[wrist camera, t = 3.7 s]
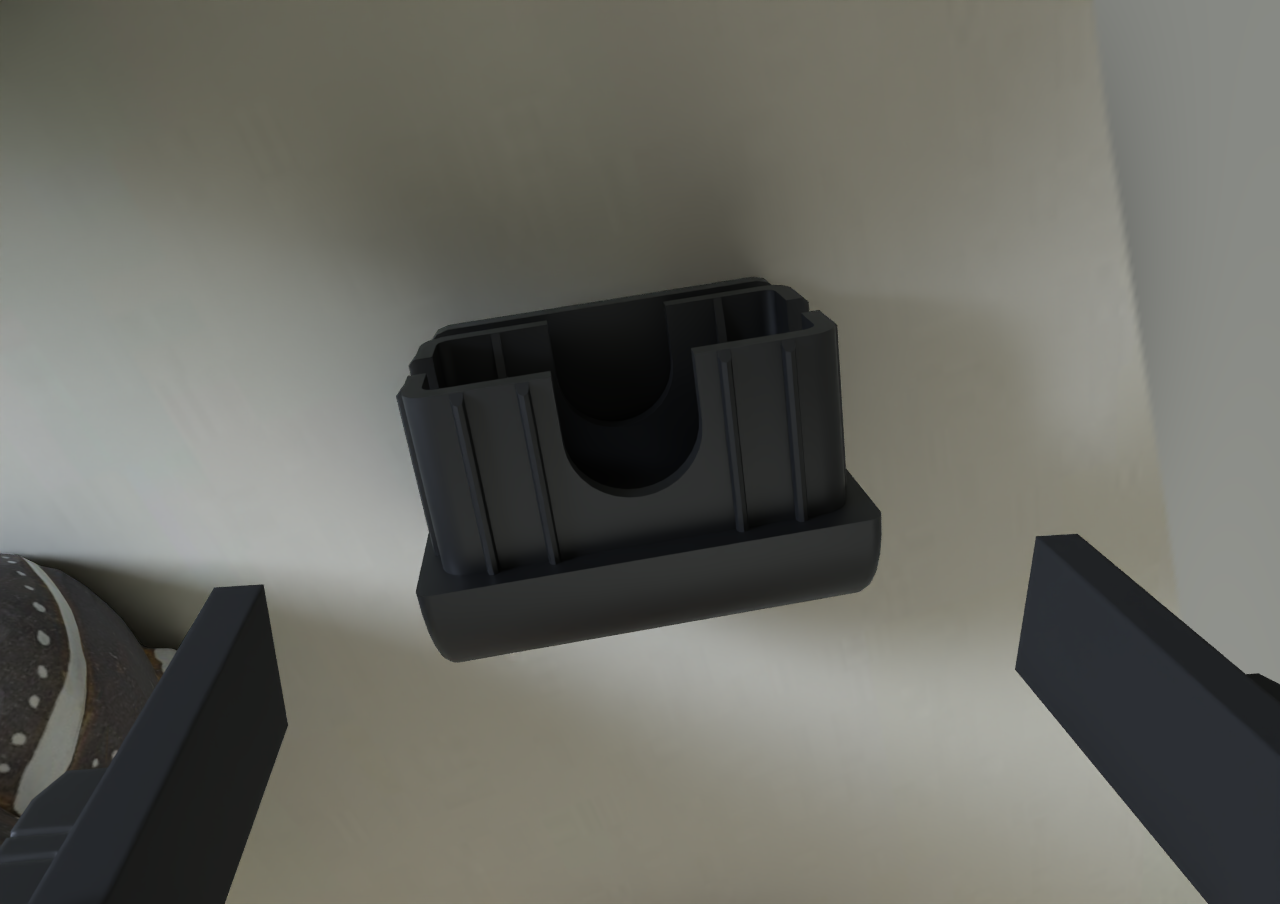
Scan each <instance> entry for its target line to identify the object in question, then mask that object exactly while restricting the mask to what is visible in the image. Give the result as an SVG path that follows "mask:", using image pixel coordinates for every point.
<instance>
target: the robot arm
mask: <svg viewBox="0 0 1280 904" xmlns="http://www.w3.org/2000/svg"><path fill="white" fill-rule="evenodd" d="M1015 670H1016V671H1017V672H1018V673H1019V675H1020V676H1021V677H1022V678H1023V680H1024V681H1025V682H1026V683H1027V684H1028V686H1029V687H1030V688H1031V689H1032V690H1033V692H1034V693H1035V694H1036V695H1037V697H1038V698H1039V699H1040V700H1041V701H1042V703H1043V704H1044V705H1045V706H1046V707H1047V709H1048V710H1049V711H1050V712H1051V714H1052V715H1053V716H1054V717H1055V718H1056V720H1057V721H1058V722H1059V723H1060V724H1061V726H1062V727H1063V728H1064V729H1065V731H1066V732H1067V733H1068V734H1069V735H1070V737H1071V738H1072V739H1073V740H1074V741H1075V743H1076V744H1077V745H1078V746H1079V748H1080V749H1081V750H1082V751H1083V752H1084V754H1085V755H1086V756H1087V757H1088V758H1089V760H1090V761H1091V762H1092V763H1093V765H1094V766H1095V767H1096V768H1097V769H1098V771H1099V772H1100V773H1101V774H1102V775H1103V777H1104V778H1105V779H1106V780H1107V782H1108V783H1109V784H1110V785H1111V786H1112V788H1113V789H1114V790H1115V791H1116V792H1117V794H1118V795H1119V796H1120V797H1121V799H1122V800H1123V801H1124V802H1125V803H1126V805H1127V806H1128V807H1129V808H1130V809H1131V811H1132V812H1133V813H1134V814H1135V816H1136V817H1137V818H1138V819H1139V820H1140V822H1141V823H1142V824H1143V825H1144V826H1145V828H1146V829H1147V830H1148V831H1149V833H1150V834H1151V835H1152V836H1153V837H1154V839H1155V840H1156V841H1157V842H1158V843H1159V845H1160V846H1161V847H1162V848H1163V850H1164V851H1165V852H1166V853H1167V854H1168V856H1169V857H1170V858H1171V859H1172V860H1173V862H1174V863H1175V864H1176V865H1177V867H1178V868H1179V869H1180V870H1181V871H1182V873H1183V874H1184V875H1185V876H1186V877H1187V879H1188V880H1189V881H1190V882H1191V884H1192V885H1193V886H1194V887H1195V888H1196V890H1197V891H1198V892H1199V893H1200V894H1201V896H1202V897H1203V898H1204V899H1205V901H1206V902H1207V903H1208V904H1280V684H1278V683H1276V682H1274V681H1272V680H1270V679H1268V678H1266V677H1264V676H1262V675H1260V674H1245V673H1243V672H1242V671H1241V670H1240V669H1239V668H1238V667H1236V666H1235V665H1234V664H1233V663H1232V662H1230V661H1229V660H1228V659H1227V658H1226V657H1224V656H1223V655H1222V654H1221V653H1220V652H1218V651H1217V650H1216V649H1215V648H1214V647H1212V646H1211V645H1210V644H1209V643H1208V642H1207V641H1205V640H1204V639H1203V638H1202V637H1201V636H1199V635H1198V634H1197V633H1196V632H1194V631H1193V630H1192V629H1191V628H1190V627H1189V626H1187V625H1186V624H1185V623H1184V622H1183V621H1181V620H1180V619H1179V618H1178V617H1177V616H1175V615H1174V614H1173V613H1172V612H1171V611H1169V610H1168V609H1167V608H1166V607H1165V606H1163V605H1162V604H1161V603H1160V602H1159V601H1157V600H1156V599H1155V598H1154V597H1153V596H1151V595H1150V594H1149V593H1148V592H1147V591H1145V590H1144V589H1143V588H1142V587H1141V586H1139V585H1138V584H1137V583H1136V582H1135V581H1133V580H1132V579H1131V578H1130V577H1129V576H1127V575H1126V574H1125V573H1124V572H1123V571H1121V570H1120V569H1119V568H1118V567H1117V566H1115V565H1114V564H1113V563H1112V562H1111V561H1109V560H1108V559H1107V558H1106V557H1105V556H1103V555H1102V554H1101V553H1100V552H1099V551H1097V550H1096V549H1095V548H1094V547H1093V546H1091V545H1090V544H1089V543H1088V542H1087V541H1085V540H1084V539H1083V538H1082V537H1081V536H1079V535H1078V534H1067V535H1051V536H1036V541H1035V547H1034V553H1033V560H1032V566H1031V572H1030V579H1029V585H1028V591H1027V598H1026V604H1025V610H1024V616H1023V623H1022V629H1021V635H1020V642H1019V648H1018V654H1017V661H1016V667H1015ZM287 727H288V723H287V717H286V711H285V705H284V699H283V694H282V688H281V682H280V676H279V671H278V665H277V659H276V653H275V648H274V642H273V636H272V630H271V625H270V619H269V613H268V607H267V602H266V596H265V590H264V585H248V586H232V587H216V588H214V589H213V591H212V592H211V594H210V596H209V597H208V599H207V601H206V602H205V604H204V606H203V608H202V609H201V611H200V613H199V614H198V616H197V618H196V619H195V621H194V623H193V624H192V626H191V628H190V630H189V631H188V633H187V635H186V636H185V638H184V640H183V641H182V643H181V645H180V646H179V648H178V650H177V651H176V653H175V655H174V657H173V658H172V660H171V662H170V663H169V665H168V667H167V668H166V670H165V672H164V673H163V675H162V677H161V679H160V680H159V682H158V684H157V685H156V687H155V689H154V690H153V692H152V694H151V695H150V697H149V699H148V700H147V702H146V704H145V706H144V707H143V709H142V711H141V712H140V714H139V716H138V717H137V719H136V721H135V722H134V724H133V726H132V728H131V729H130V731H129V733H128V734H127V736H126V738H125V739H124V741H123V743H122V744H121V746H120V748H119V749H118V751H117V753H116V755H115V756H114V758H113V760H112V761H111V763H110V765H109V766H108V767H107V768H95V769H82V770H70V771H66V772H65V773H64V774H62V775H61V776H60V777H59V778H57V779H56V780H55V781H54V782H53V783H51V784H50V785H49V786H48V787H47V788H45V789H44V790H43V791H42V792H40V793H39V794H38V795H37V796H36V797H34V798H33V799H32V800H31V802H30V803H29V805H28V806H27V808H26V809H25V811H24V812H23V814H22V815H21V816H20V818H19V819H18V821H17V822H16V824H15V825H14V827H13V828H12V830H11V831H10V832H11V835H10V838H6V839H5V840H4V842H3V843H2V845H1V846H0V904H225V901H226V898H227V896H228V893H229V890H230V887H231V884H232V881H233V879H234V876H235V873H236V870H237V867H238V865H239V862H240V859H241V856H242V853H243V851H244V848H245V845H246V842H247V839H248V836H249V834H250V831H251V828H252V825H253V822H254V820H255V817H256V814H257V811H258V808H259V805H260V803H261V800H262V797H263V794H264V791H265V789H266V786H267V783H268V780H269V777H270V774H271V772H272V769H273V766H274V763H275V760H276V758H277V755H278V752H279V749H280V746H281V744H282V741H283V738H284V735H285V732H286V729H287Z"/></svg>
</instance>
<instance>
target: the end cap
mask: <svg viewBox="0 0 1280 904" xmlns="http://www.w3.org/2000/svg"><path fill="white" fill-rule="evenodd" d="M409 369H410V373H411V376H408V377H407V379H406V381H405V384H404V385H403V387H402V388H401V390H400V391H399V393H398V394H397V396H396V398H397V402H398V406H399V410H400V414H401V418H402V423H403V427H404V431H405V435H406V439H407V443H408V447H409V451H410V455H411V460H412V464H413V468H414V472H415V476H416V480H417V484H418V488H419V493H420V497H421V501H422V505H423V509H424V513H425V517H426V521H427V525H428V530H429V534H428V539H427V543H426V548H425V553H424V557H423V562H422V566H421V571H420V575H419V580H418V584H417V589H416V594H417V598H418V601H419V605H420V608H421V612H422V615H423V618H424V621H425V624H426V626H427V629H428V632H429V634H430V636H431V638H432V640H433V643H434V645H435V646H436V648H437V649H438V651H439V652H440V653H441V655H442V656H443V657H444V658H446V659H448V660H450V661H452V662H464V661H470V660H476V659H481V658H487V657H493V656H498V655H504V654H510V653H515V652H521V651H527V650H532V649H538V648H544V647H549V646H555V645H561V644H566V643H572V642H578V641H584V640H589V639H595V638H601V637H606V636H612V635H618V634H623V633H629V632H635V631H640V630H646V629H652V628H657V627H663V626H669V625H674V624H680V623H686V622H692V621H697V620H703V619H709V618H714V617H720V616H726V615H731V614H737V613H743V612H748V611H754V610H760V609H765V608H771V607H777V606H782V605H788V604H794V603H800V602H805V601H811V600H817V599H822V598H828V597H834V596H839V595H845V594H851V593H856V592H860V591H862V590H863V589H864V588H865V587H867V586H868V585H869V584H870V583H871V581H872V579H873V577H874V575H875V573H876V570H877V566H878V561H879V556H880V548H881V535H882V533H881V511H880V510H879V509H878V508H877V506H876V505H875V504H874V503H873V501H872V500H871V499H870V498H869V496H868V495H867V494H866V493H865V492H864V490H863V489H862V488H861V487H860V485H859V484H858V483H857V482H856V480H855V479H854V478H853V477H852V475H851V474H850V473H849V472H848V470H847V469H846V463H845V446H844V430H843V413H842V397H841V380H840V363H839V347H838V330H837V325H836V324H835V323H834V322H833V321H832V320H831V319H829V318H828V317H827V316H826V315H824V314H823V313H822V312H821V311H820V310H816V311H810V312H809V302H808V301H807V300H805V299H804V298H803V297H802V296H801V295H800V294H798V293H797V292H796V291H795V290H793V289H792V288H791V287H788V286H783V285H771V284H770V283H768V282H767V281H766V280H765V279H764V278H757V277H749V278H743V279H737V280H730V281H724V282H718V283H711V284H705V285H699V286H692V287H686V288H680V289H673V290H667V291H661V292H654V293H648V294H642V295H636V296H629V297H623V298H617V299H610V300H604V301H598V302H591V303H585V304H579V305H572V306H566V307H560V308H554V309H547V310H541V311H535V312H528V313H522V314H516V315H509V316H503V317H497V318H490V319H484V320H478V321H471V322H465V323H459V324H453V325H448V326H446V327H444V328H441V329H439V330H438V331H437V333H436V334H435V336H434V337H433V339H432V340H430V341H428V342H425V343H424V344H422V345H421V346H420V347H419V349H418V352H417V354H416V356H415V357H414V359H413V360H412V362H411V363H410V365H409Z"/></svg>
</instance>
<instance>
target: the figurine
mask: <svg viewBox="0 0 1280 904" xmlns="http://www.w3.org/2000/svg"><path fill="white" fill-rule="evenodd" d="M176 651H177V650H174V649H171V648H148V647H145V646H142V645H140V643H139V642H138V640H137V639H136V637H135V636H134V634H133V633H132V632H131V630H130V629H129V628H128V626H127V625H126V623H125V622H124V621H123V619H122V618H121V617H120V616H119V615H118V614H117V613H116V612H115V611H114V610H112V609H111V608H110V607H109V606H108V605H107V604H106V603H105V602H104V601H103V600H102V599H101V598H99V597H98V596H97V595H96V594H95V593H93V592H92V591H91V590H90V589H89V588H87V587H86V586H85V585H83V584H82V583H80V582H79V581H77V580H75V579H74V578H72V577H71V576H69V575H67V574H66V573H64V572H63V571H61V570H59V569H54V568H49V567H44V566H39V565H37V564H36V563H33V562H31V561H29V560H27V559H25V558H23V557H21V556H19V555H8V554H0V846H1V845H2V843H3V842H4V840H5V839H6V838H10V835H11V832H10V831H11V830H12V828H13V827H14V825H15V824H16V822H17V821H18V819H19V818H20V816H21V815H22V814H23V812H24V811H25V809H26V808H27V806H28V805H29V803H30V802H31V800H32V799H33V798H34V797H36V796H37V795H38V794H39V793H40V792H42V791H43V790H44V789H45V788H47V787H48V786H49V785H50V784H51V783H53V782H54V781H55V780H56V779H57V778H59V777H60V776H61V775H62V774H64V773H65V772H66V771H70V770H82V769H95V768H107V767H108V766H109V765H110V763H111V761H112V760H113V758H114V756H115V755H116V753H117V751H118V749H119V748H120V746H121V744H122V743H123V741H124V739H125V738H126V736H127V734H128V733H129V731H130V729H131V728H132V726H133V724H134V722H135V721H136V719H137V717H138V716H139V714H140V712H141V711H142V709H143V707H144V706H145V704H146V702H147V700H148V699H149V697H150V695H151V694H152V692H153V690H154V689H155V687H156V685H157V684H158V682H159V680H160V679H161V677H162V675H163V673H164V672H165V670H166V668H167V667H168V665H169V663H170V662H171V660H172V658H173V657H174V655H175V653H176Z"/></svg>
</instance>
